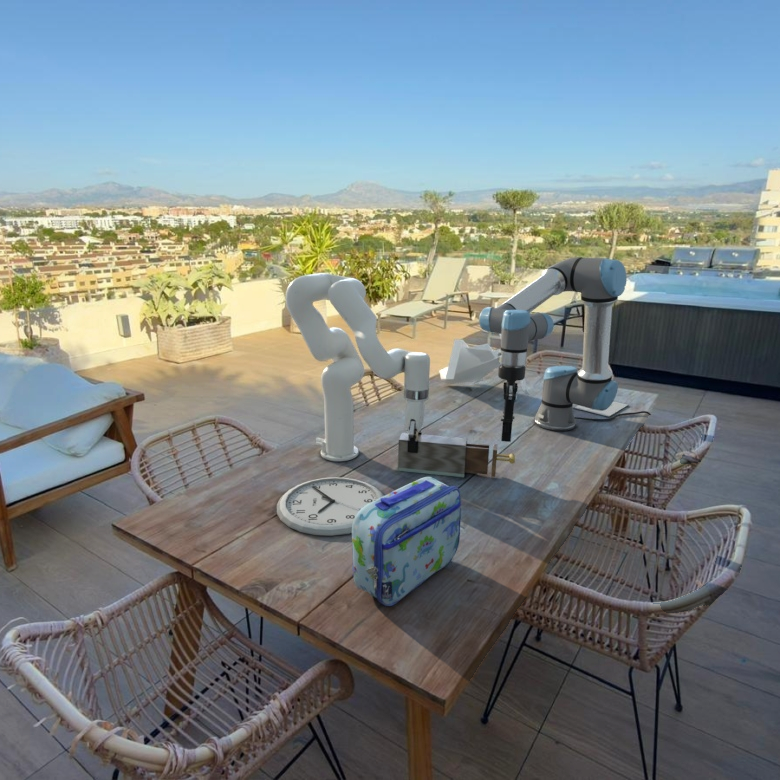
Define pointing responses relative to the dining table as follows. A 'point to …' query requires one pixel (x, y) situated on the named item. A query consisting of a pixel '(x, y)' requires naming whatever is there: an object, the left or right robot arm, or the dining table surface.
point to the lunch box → (405, 538)
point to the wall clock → (325, 505)
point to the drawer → (483, 458)
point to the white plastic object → (472, 364)
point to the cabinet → (433, 455)
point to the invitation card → (609, 411)
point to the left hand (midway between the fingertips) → (414, 447)
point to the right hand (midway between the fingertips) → (505, 440)
